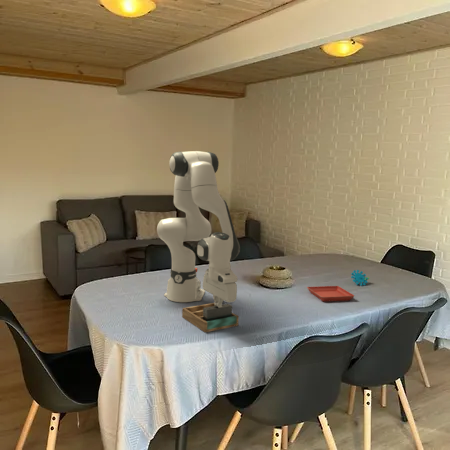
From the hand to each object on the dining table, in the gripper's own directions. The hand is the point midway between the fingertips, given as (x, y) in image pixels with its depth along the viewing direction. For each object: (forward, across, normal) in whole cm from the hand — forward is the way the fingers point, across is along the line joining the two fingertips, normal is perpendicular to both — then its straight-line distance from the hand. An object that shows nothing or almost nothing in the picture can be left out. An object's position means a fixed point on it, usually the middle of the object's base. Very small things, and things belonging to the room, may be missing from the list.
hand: (218, 306), depth 188 cm
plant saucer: (+9, -8, +73) cm, 74 cm away
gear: (+9, -17, +105) cm, 107 cm away
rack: (+8, -6, 0) cm, 10 cm away
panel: (+7, 0, 0) cm, 7 cm away
